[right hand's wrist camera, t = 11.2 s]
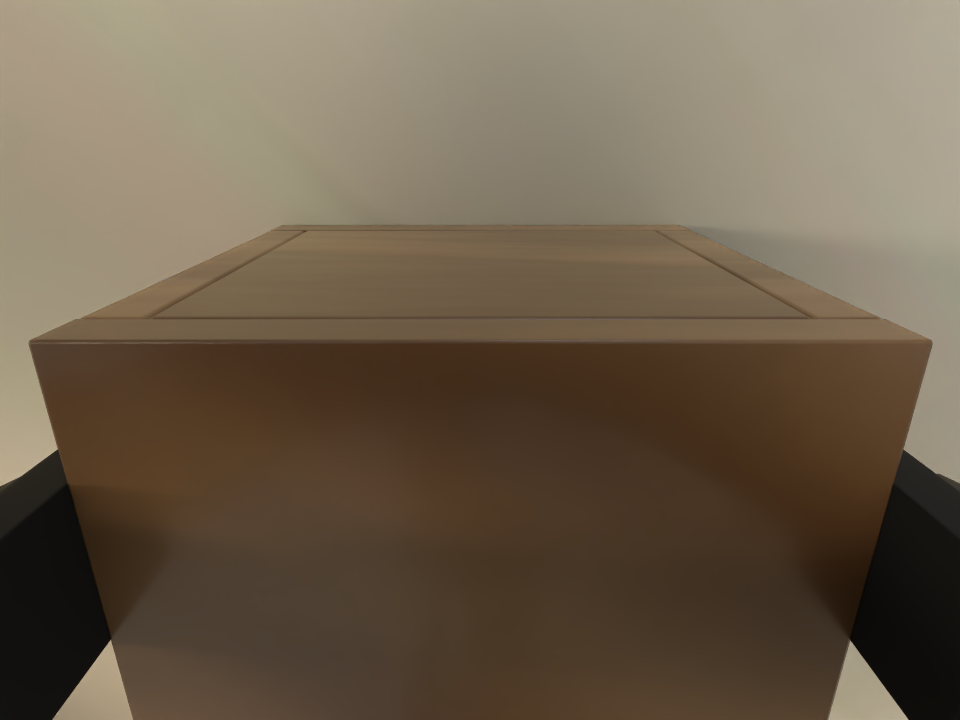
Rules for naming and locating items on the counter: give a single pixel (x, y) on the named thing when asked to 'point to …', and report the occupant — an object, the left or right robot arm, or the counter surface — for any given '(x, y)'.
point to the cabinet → (480, 476)
